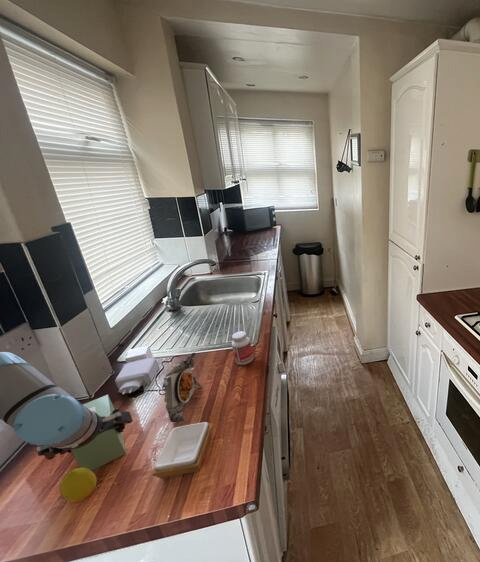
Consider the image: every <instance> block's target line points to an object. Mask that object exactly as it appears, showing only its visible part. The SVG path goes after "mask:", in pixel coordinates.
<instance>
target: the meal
mask: <svg viewBox="0 0 480 562" xmlns="http://www.w3.org/2000/svg"><path fill="white" fill-rule="evenodd" d="M195 356H196V352H192V353H191V354H190V355H189V356H187V358H185V359H181V361H180V362H177V363H176V364H175V365H174V366H173V367H171V370H170V371H169V372H168V373H167V374H165V376H164V378H163V383H162V385H161V386H162V387H161V389H162V391H164V399H163V402H165V403H166V404H165V410H166V411H167V414H168V416H169V417H168V418H169V421H170V422H171V423H174V424H175V423H176V424H177V423H181V422H186V419H185V418H184V417H183V416H182V415H183V414H184V413H185V410H184V405H185V404H187V403H188V402H190V399H191V398H192V396H193V395H194V390H196V389H198V388H199V387H202V385H201V383H200V381H199V382H198V380H197V377H196V376H195V375H193V370H192V368H193V366H194V364H195V362H194V357H195Z"/></svg>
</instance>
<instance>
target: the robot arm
mask: <svg viewBox="0 0 480 562" xmlns="http://www.w3.org/2000/svg"><path fill="white" fill-rule="evenodd" d="M114 409H115V410H114V411H113V412H112V413H110V416H107V417H105V416H99V415H98V414H97V413H96V412H94V411H92V410H91V409H89V408H87V407H86V406H84V405H83V404H82V403H81V402H80V401H79V400H77V399H76V398H74V397H73V396H72V395H70V394H69V393H68V392H67V391H65V390H64V389H63V388H61V387H60V386H58V385H57V384H55V383H54V382H53V381H51V380H50V379H49V378H48V377H46V376H45V375H44V374H43V373H41V372H40V371H39V370H38V369H37V368H36V367H34V365H33V364H31V363H30V362H27V361H26V360H24V359H23V358H21V357H20V356H18V355H16V354H14V353H12V352H9V351H0V420H1V421H3V422H4V423H5V424H6V425H9V426H10V427H11V428H12V429H13V430H14V433H15V436H17V437H18V438H19V439H20V440H22V441H24V442H25V443H27V444H29V445H31V446H35V448H36V452H37V456H39V457H40V456H44V457H45V458H46V460H47V461H48V460H49V461H50V460H52V459H54V458H55V457H56V455H58V454H59V455H60V456H61V455H65V454H67V453H70V454H73V453H72V452H71V450H72V449H77V448H80V447H83V446H85V445H87V444H88V443H90V442H91V441H92V440H93V439H94V438H95V437H96V436H97V435H98V434H101V433H103V432H104V431H106V430H111V429H115V430H116V431H118V432H119V433H121V432H122V433H123V432H124V430H126V425H128V424H131V423H133V416H132V415H131V412H130V411H125V410H120V408H114Z"/></svg>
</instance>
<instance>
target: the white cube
mask: <svg viewBox="0 0 480 562" xmlns="http://www.w3.org/2000/svg"><path fill="white" fill-rule="evenodd" d="M147 358H154V355H153V352H152V350H151V347H150V345H142V346H139V347H134V348H130V349H128V351H127V353H126V355H125V357H124V360H125V364H126V363H128V362H132V361H137V360H142V359H147Z"/></svg>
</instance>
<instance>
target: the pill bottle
mask: <svg viewBox="0 0 480 562" xmlns="http://www.w3.org/2000/svg"><path fill="white" fill-rule="evenodd" d="M231 338H232V341H231V348H232V352H233V357H234V361H235V363H236V364H237V365H239V366H245V365H248V364H250V363H251V362H253V360H254V352H253V348H252V343H251V340H250V338H249V337H248V335H247V332H246V331H244V330H243V331H237V332H235V333H233V334H232V335H231Z"/></svg>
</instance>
